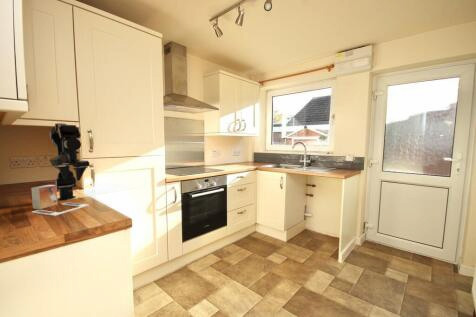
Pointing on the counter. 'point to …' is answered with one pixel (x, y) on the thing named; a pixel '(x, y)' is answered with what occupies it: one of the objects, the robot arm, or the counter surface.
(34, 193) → the small box
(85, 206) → the bracket
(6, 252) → the counter surface
